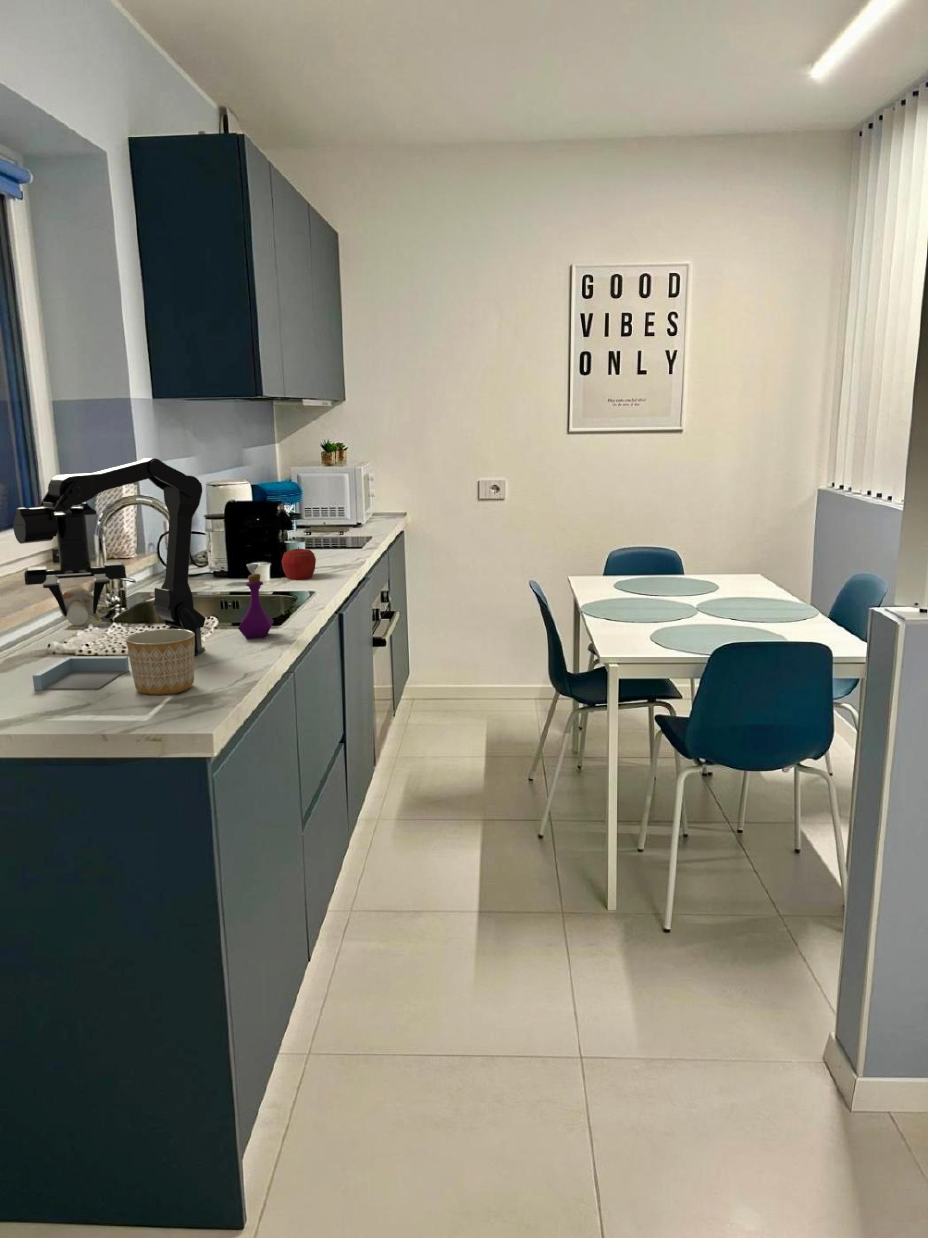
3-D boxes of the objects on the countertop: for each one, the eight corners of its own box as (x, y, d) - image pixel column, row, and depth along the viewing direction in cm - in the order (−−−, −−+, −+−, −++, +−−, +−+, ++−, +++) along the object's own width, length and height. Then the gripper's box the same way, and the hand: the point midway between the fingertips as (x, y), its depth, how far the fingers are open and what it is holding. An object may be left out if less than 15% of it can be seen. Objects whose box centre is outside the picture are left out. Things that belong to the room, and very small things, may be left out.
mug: (60, 628, 186) (48, 584, 188) (71, 643, 195) (60, 601, 197) (98, 617, 188) (86, 573, 190) (108, 633, 197) (96, 590, 199)
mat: (123, 672, 194) (123, 671, 194) (98, 689, 182) (98, 688, 182) (74, 672, 195) (73, 671, 194) (45, 689, 183) (45, 688, 183)
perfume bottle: (243, 634, 227) (238, 561, 223) (274, 633, 227) (270, 560, 223) (238, 641, 219) (233, 566, 216) (271, 640, 220) (266, 565, 216)
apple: (284, 580, 301) (282, 544, 298) (317, 579, 302) (316, 543, 299) (281, 586, 290) (279, 549, 287) (316, 585, 291) (314, 548, 289)
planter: (125, 685, 185) (120, 633, 183) (190, 675, 191) (186, 626, 189) (137, 701, 174) (132, 647, 172) (205, 691, 180) (201, 638, 178)
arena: (129, 670, 196) (127, 656, 195) (99, 690, 182) (98, 675, 181) (68, 670, 196) (66, 656, 196) (34, 690, 182) (32, 675, 182)
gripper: (120, 531, 198) (127, 604, 201) (24, 536, 191) (32, 611, 194) (122, 537, 188) (129, 613, 191) (20, 543, 181) (29, 621, 184)
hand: (80, 614), depth 190 cm, fingers closed on mug, 5 cm apart
